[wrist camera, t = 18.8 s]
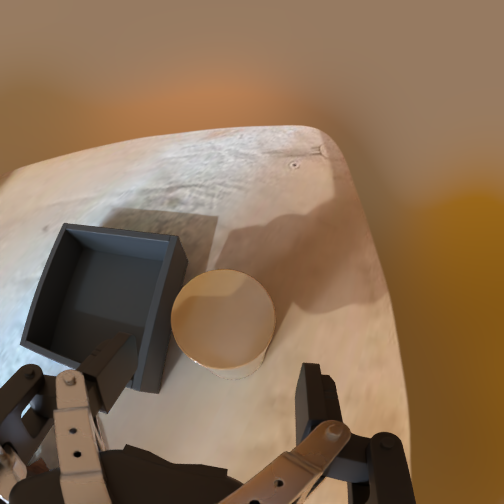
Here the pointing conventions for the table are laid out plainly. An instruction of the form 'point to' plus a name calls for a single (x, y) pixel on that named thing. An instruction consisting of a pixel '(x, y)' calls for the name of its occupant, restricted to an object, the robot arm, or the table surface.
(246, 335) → the spice jar
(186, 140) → the table surface
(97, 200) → the table surface
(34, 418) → the robot arm
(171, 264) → the bin
